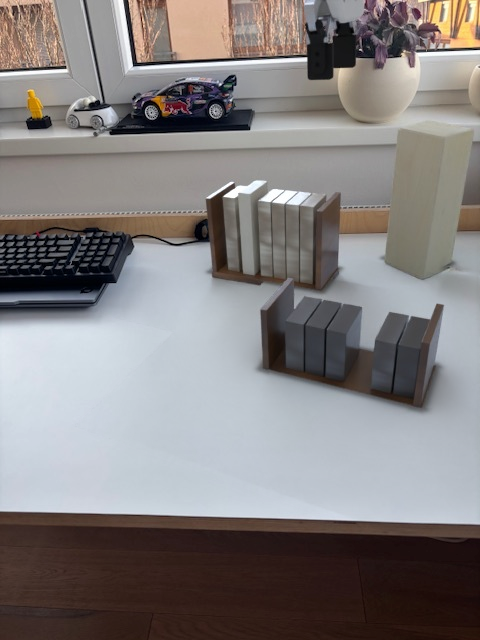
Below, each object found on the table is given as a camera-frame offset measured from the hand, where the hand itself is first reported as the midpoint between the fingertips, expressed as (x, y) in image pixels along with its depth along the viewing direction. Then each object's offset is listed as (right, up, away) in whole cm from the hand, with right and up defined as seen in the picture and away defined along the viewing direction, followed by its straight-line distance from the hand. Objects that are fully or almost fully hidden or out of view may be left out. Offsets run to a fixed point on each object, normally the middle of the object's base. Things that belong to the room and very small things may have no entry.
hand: (332, 73), depth 71 cm
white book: (-9, -24, +15) cm, 30 cm away
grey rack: (0, -39, -8) cm, 39 cm away
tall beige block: (+16, -24, +15) cm, 32 cm away
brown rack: (-7, -25, +15) cm, 30 cm away
